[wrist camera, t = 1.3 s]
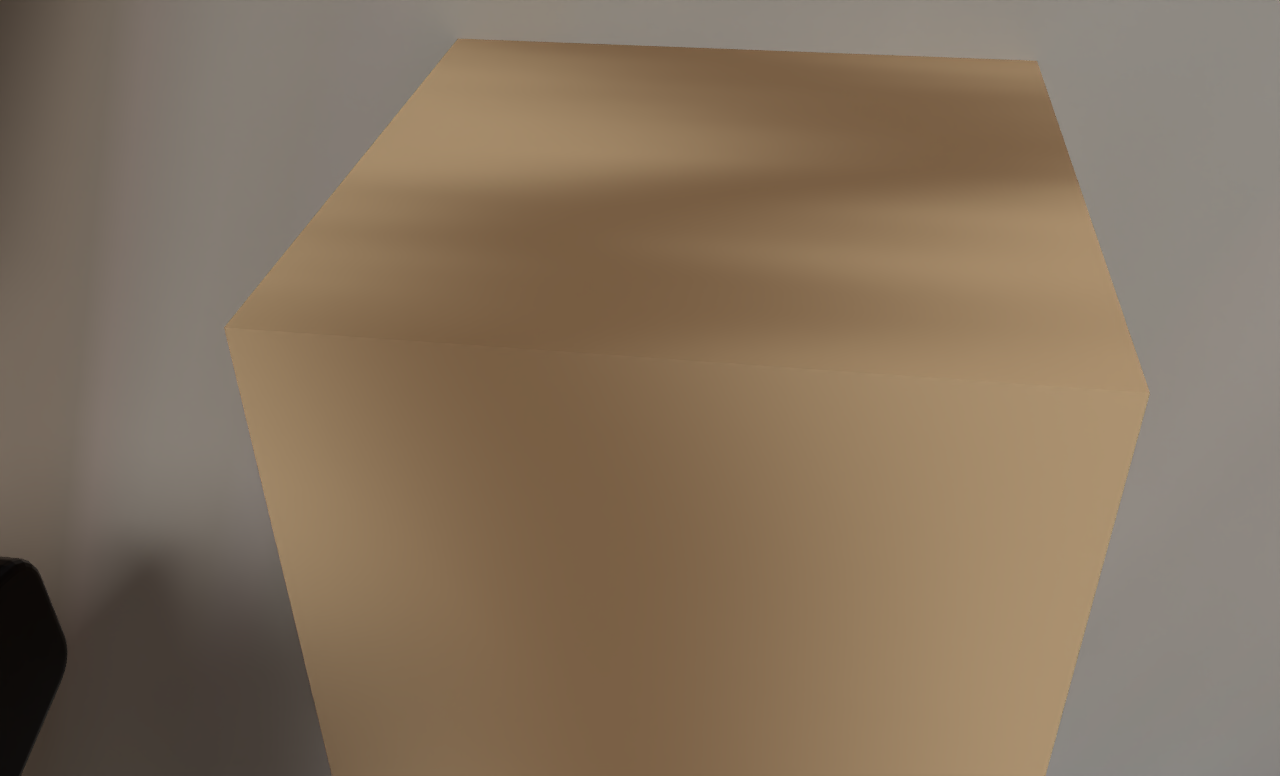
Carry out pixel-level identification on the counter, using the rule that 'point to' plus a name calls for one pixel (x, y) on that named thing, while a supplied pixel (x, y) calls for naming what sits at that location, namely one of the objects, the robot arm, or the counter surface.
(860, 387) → the oak block
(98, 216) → the counter surface
